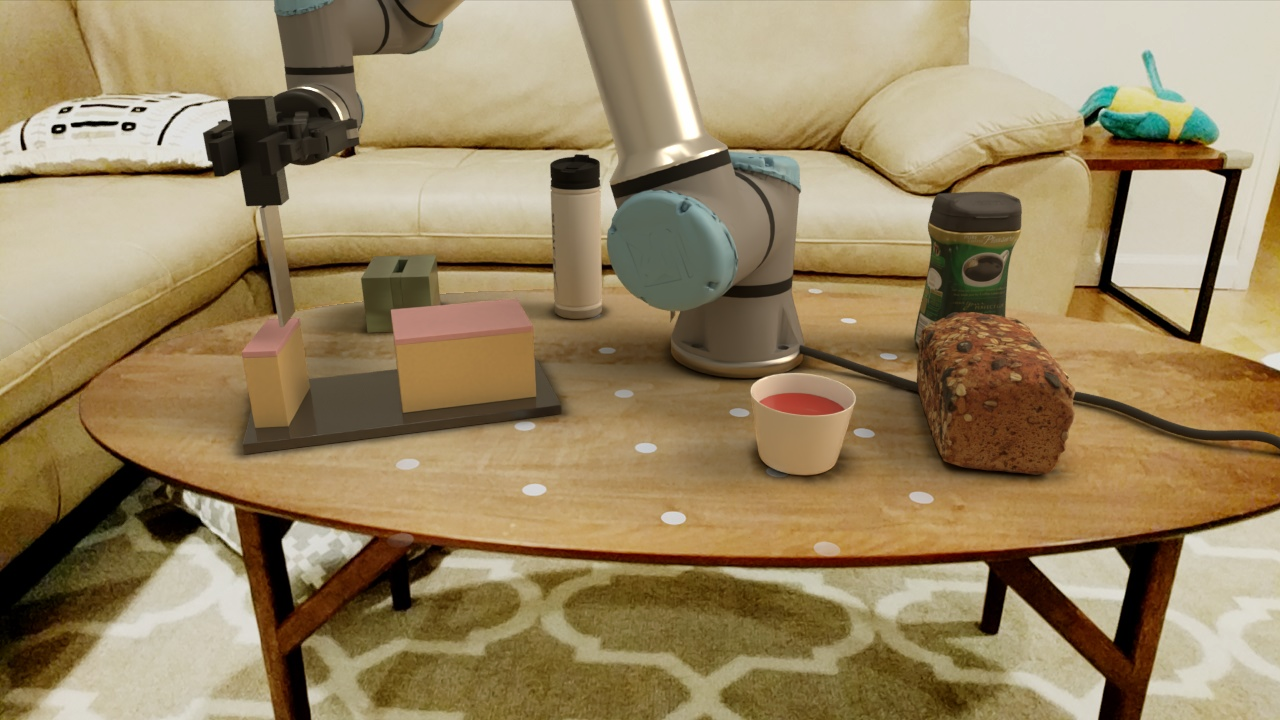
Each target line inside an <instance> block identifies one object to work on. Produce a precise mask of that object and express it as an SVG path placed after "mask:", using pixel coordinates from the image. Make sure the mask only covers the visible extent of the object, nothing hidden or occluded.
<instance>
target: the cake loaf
mask: <svg viewBox="0 0 1280 720" xmlns="http://www.w3.org/2000/svg"><path fill="white" fill-rule="evenodd" d="M391 318H392V327H393V332H392V335H393V344H394V354H395V363H396V369H397V372H398V381H399V388H400V396H401V403H402V411H403V413H407V412H415V411H423V410H432V409H440V408H448V407H456V406H465V405H473V404H481V403H489V402H498V401H506V400H514V399H522V398H531V397H536V381H535V359H534V355H535V340H534V339H535V338H534V337H535V336H534V325H533V323H532V322H531V320H530V318H529V317H528V314H527V312H526V311H525V310H524V308H523V307H522V304H521V302H520V300H519V299H518V298H516V297H515V298H508V299H506V298H505V299H496V300H495V299H494V300H482V301H471V302H462V303H450V304H449V303H448V304H440V305H437V306H426V307H415V308H404V309H392V310H391Z"/></svg>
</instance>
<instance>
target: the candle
mask: <svg viewBox="0 0 1280 720" xmlns="http://www.w3.org/2000/svg"><path fill="white" fill-rule="evenodd" d="M749 393H750V402H751V408H752V409H751V410H752V416H753V425H754V431H755V438H756V445H757V451H758V456H759V459H761V461H762V462H763V464H765V465H767V466H768V467H769V468H771V469H772V470H775V471H777V472H781V473H784V474H790V475H794V476H813V475H818V474H823V473H825V472H828V471H829V470H831V469H832V468H833V467H834V466H835V465H836V463H837V462H838V459H839V456H840V453H841V450H842V447H843V444H844V441H845V437H846V434H847V431H848V428H849V424H850V422H851V418H852V414H853V412H854V408H855V406H856V401H857V396H856V394H855V392H854V391H853V389H852V388H850V387H849V386H848V385H846V384H844V383H843V382H840V381H838V380H836V379H833V378H831V377H826V376H823V375H819V374H811V373H802V372H801V373H800V372H784V373H781V374H776V375H771V376H766V377H761V378H759V379H758V380H756V381H755V382H754V383H753V384H752V385H751V387H750V391H749Z"/></svg>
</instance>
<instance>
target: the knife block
mask: <svg viewBox="0 0 1280 720" xmlns="http://www.w3.org/2000/svg"><path fill="white" fill-rule="evenodd" d="M437 260H438V259H437V254H414V255H413V254H411V255H408V254H407V255H379V256H378V255H377V256H376V255H375V256H373V257H372V259H371V260H370V263H368V266H367V268H366V269H365V270H364V272H363V274H362V276H361V278H360V282H361V289H362V290H361V291H362V299H363V306H364V314H365V322H366V323H365V324H366V332H367V333H368V334H370V333H371V334H373V333H393V327H392V318H391V310H392V309H404V308H415V307H426V306H437V305H441V296H440V283H439V273H438V272H439V271H438V261H437Z"/></svg>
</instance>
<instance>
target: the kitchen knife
mask: <svg viewBox="0 0 1280 720" xmlns="http://www.w3.org/2000/svg"><path fill="white" fill-rule="evenodd" d="M273 97H274V95H238V96H234V97H231V98H228V99H227V105H228V111H229V117H230V121H231V123H232V129H233V134H234V139H235V145H236V151H237V157H238V162H239V168H240V170H239V173H240V179H241V184H242V190H243V197H244V202H245V206H246V207H259V208H258V210H259V215H260V221H261V226H262V232H263V238H264V244H265V249H266V257H267V262H268V268H269V274H270V279H271V285H272V290H273V291H272V292H273V295H274V296H273V297H274V302H275V308H276V314H277V319H278V320H279V326H280V327H284V326H285V325H286V323H287V322H288V321H289V319H290V318H293V316H294V314H295V313H296V307H295V306H296V305H295V301H294V295H293V294H294V293H293V289H292V282H291V276H290V270H289V264H288V259H287V251H286V245H285V240H284V234H283V227H282V222H281V215H280V208H279V206H282V205H284V204H285V203H286V202H287V201H289V200H290V193H289V189H288V188H289V187H288V182H287V176H286V169H285V167H284V168H282V169H281V170H279V171H278V172H276V173H275V174H273V175H270V176H262V171H261V165H260V159H259V153H258V147H257V142H258V141H260V140H262V139H264V138H266V137H268V136H270V135H272V134H274V133H276V132H279V130H278V124H277V118H276V111H275V105H274V99H273Z"/></svg>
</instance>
